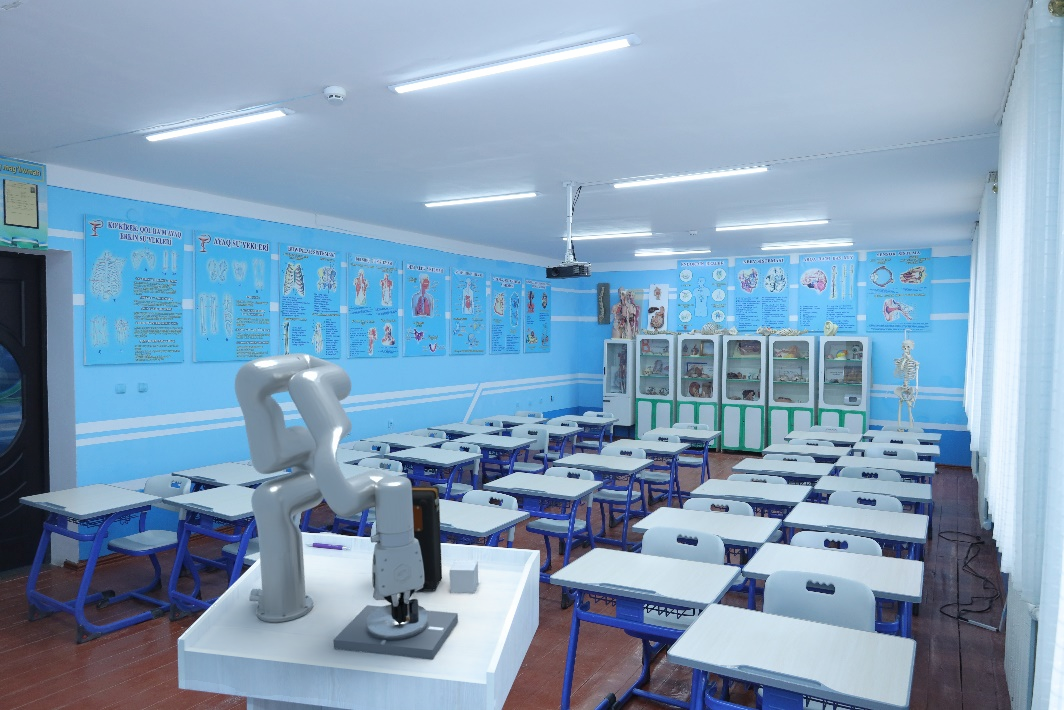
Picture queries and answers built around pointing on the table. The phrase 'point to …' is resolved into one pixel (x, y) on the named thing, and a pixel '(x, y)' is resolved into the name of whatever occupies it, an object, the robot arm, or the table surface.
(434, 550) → the voltmeter
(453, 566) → the light grey cube
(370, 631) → the dial
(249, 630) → the table surface
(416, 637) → the grey base plate
